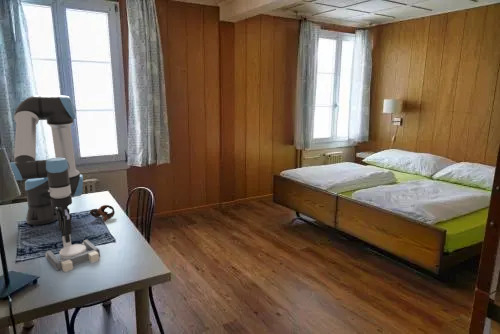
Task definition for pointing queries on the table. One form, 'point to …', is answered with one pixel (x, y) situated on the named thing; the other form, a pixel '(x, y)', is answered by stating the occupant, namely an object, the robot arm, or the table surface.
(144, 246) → the table surface
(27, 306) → the table surface
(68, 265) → the grey u-shaped frame
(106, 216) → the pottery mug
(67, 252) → the white round disc
